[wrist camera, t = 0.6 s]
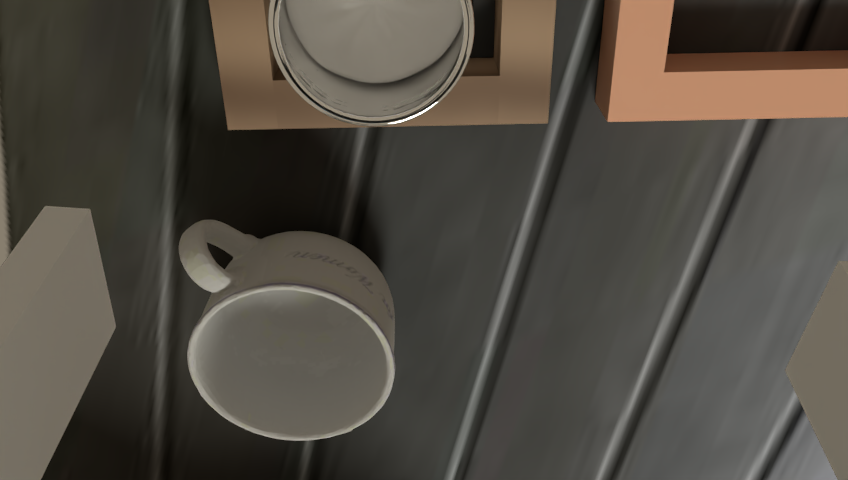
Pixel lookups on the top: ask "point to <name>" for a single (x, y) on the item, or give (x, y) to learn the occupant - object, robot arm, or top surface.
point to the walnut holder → (465, 105)
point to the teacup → (289, 331)
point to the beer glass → (372, 54)
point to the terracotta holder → (707, 75)
